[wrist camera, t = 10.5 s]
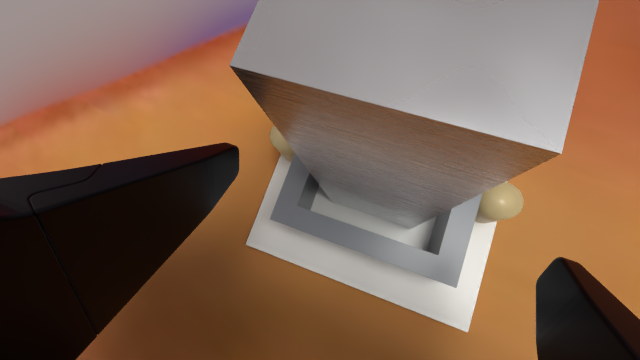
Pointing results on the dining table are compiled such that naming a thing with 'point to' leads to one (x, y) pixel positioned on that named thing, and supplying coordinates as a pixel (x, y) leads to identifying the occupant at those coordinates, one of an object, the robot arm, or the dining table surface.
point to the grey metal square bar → (416, 93)
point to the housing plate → (382, 242)
